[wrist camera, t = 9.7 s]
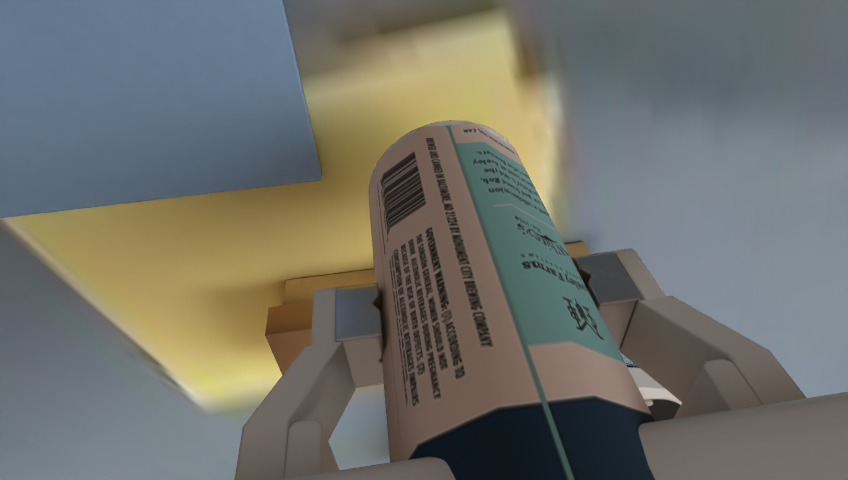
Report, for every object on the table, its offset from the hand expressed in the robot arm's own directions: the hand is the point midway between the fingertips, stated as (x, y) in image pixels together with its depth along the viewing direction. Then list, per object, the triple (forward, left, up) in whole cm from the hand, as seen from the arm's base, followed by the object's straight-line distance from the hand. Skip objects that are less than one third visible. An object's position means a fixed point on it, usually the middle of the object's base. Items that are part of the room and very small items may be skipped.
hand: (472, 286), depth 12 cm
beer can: (0, 0, -5) cm, 5 cm away
